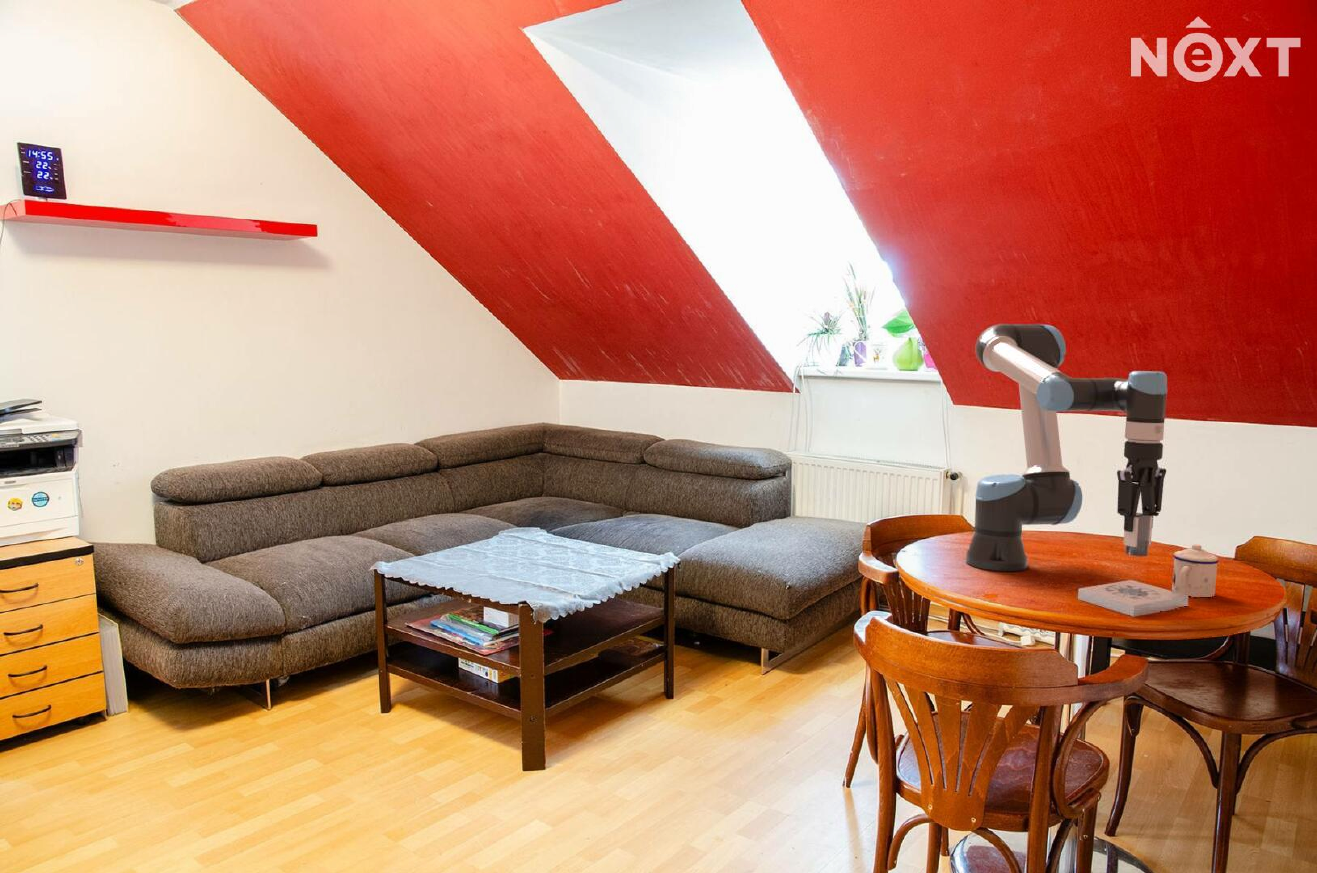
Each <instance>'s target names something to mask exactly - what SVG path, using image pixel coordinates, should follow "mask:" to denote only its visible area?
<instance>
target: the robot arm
mask: <svg viewBox="0 0 1317 873" xmlns="http://www.w3.org/2000/svg"><path fill="white" fill-rule="evenodd" d="M974 349H975V352H974V353H975V356H976V359H977V360H978V361H979V363H980V364H981V365H982V366H983V367H985V368H987V369H989V371H991V372H997V373H998V372H1000V373H1001V374H1003V375H1005V376H1006V377H1008V378H1010V379H1011V380H1012V381H1014V382H1016V383H1018V388H1019V389H1018V391H1019V399H1020V400H1019V402H1020V409H1021V410H1020V411H1021V420H1022V430H1023V438H1024V448H1025V459H1026V469H1025V470H1024V471H1023V473H1022V475H1021V474H1010V473H1009V474H1004V473H1003V474H994V475H988V476H985V477H982V478H981V479H980V480H979V481H978V482H977V484H976V492H975V508H974V509H975V510H974V511H975V512H974V513H975V515H974V529H973V530H974V533H973V536H972V539H971V541H970V544H969V547H968V549H967V551H966V552H965V557H966V558H965V563H966V564H968V565H969V564H970V565H969V566H972V567H975V568H977V569H983V570H989V571H996V572H997V571H998V572H1017V571H1018V572H1019V571H1023V570H1026V569H1027V568H1028V556H1027V555H1026V553H1025V552H1026V551H1025V546H1024V542H1023V536H1022V534H1023V532H1022V531H1023V526H1025V525H1026V526H1030V525H1031V526H1032V525H1033V526H1034V525H1039V526H1041V525H1051V526H1055V525H1062V524H1069V523H1070V522H1073V521H1074V520H1075V519H1076V518H1077V516H1078V515H1079V513H1080V512H1081V508H1082V504H1083V490H1082V487H1081V486H1080V485H1079V482H1077V481H1076V480H1074V479H1072V478H1071V476H1070V474H1071V473H1070V471H1069V470H1068V469H1067V468H1066V467H1064V466H1063V460H1062V452H1061V450H1062V448H1061V441H1060V431H1059V422H1058V412H1060V413H1061V412H1123V413H1124V412H1125V413H1126V418H1125V427H1124V428H1125V429H1124V438H1125V439H1126V441H1125V442H1124V449H1123V457H1125V459H1127V464H1126V467H1125V468H1124V469H1123V470H1121V469H1118V470H1117V472H1116V475H1117V480H1118V482H1117V484H1118V485H1117V486H1118V487H1117V508H1116V509H1117V514H1119V515H1120V516H1122V517H1123V518H1124V521H1123V531H1124V532H1123V545H1124V546H1126V545H1128V546H1132V547H1137V534H1138V519H1139V518H1136V513H1138V508H1139V502H1140V500H1141V513H1144V514H1149V515H1150V526H1149V541H1148V546H1151V545H1152V535H1153V534H1152V532H1153V524H1154V517H1158V516H1159V514H1160V513H1161V511H1162V502H1163V494H1164V482H1165V477H1166V474H1167V469H1166V468H1161V467H1159V464H1158V461H1160V460H1162V458H1163V451H1164V444H1163V442H1161V441H1163V440H1164V434H1165V433H1164V432H1165V419H1166V408H1167V407H1166V405H1167V397H1168V396H1167V395H1168V376H1167V374H1166V373H1165V372H1164V371H1153V370H1152V371H1149V370H1146V371H1145V370H1142V371H1141V370H1133V371H1131V372H1129V374H1128V378H1118V377H1101V378H1100V377H1099V378H1091V377H1090V378H1089V377H1088V378H1087V377H1085V378H1083V377H1081V378H1080V377H1077V378H1076V377H1075V378H1074V377H1070V376H1069V375H1067V374H1065V373H1064V372H1062V371H1060V370H1059V366H1061V365H1062V364H1063V362H1064V360H1065V355H1066V352H1067V350H1066V341H1065V339H1064V337H1063V334H1062V333H1061V331H1060V330H1059V329H1058V328H1056V326H1052V325H1049V324H1042V323H1041V324H1040V323H1035V324H1032V323H1031V324H1029V323H1028V324H1026V323H1025V324H1017V323H1015V324H1014V323H1013V324H1011V323H1009V324H1008V323H999V324H994V325H992V326H990V327H988V328H986V329H984V331H982V332H981V333H980V335H979V337H978V338H977V339H976V343H975V348H974Z"/></svg>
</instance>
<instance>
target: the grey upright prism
mask: <svg viewBox="0 0 1317 873" xmlns="http://www.w3.org/2000/svg"><path fill="white" fill-rule="evenodd" d="M1136 518H1139V519H1138V534H1137V547H1132V546H1128V545H1125V554H1127V555H1129V556H1133V557H1148V555H1149V545H1148V541H1149V526H1150V515H1149V514H1144V513H1142V512H1137V513H1136Z"/></svg>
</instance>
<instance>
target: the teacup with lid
mask: <svg viewBox="0 0 1317 873" xmlns="http://www.w3.org/2000/svg"><path fill="white" fill-rule="evenodd" d="M1173 558H1174V560H1173V561H1174V562H1173V573H1172V584H1171V585H1172V586H1171V591H1173V592H1177V593H1181V594H1184V595H1188V596H1191V597H1190V598H1194V597H1211V598H1213V597H1214V596H1215V594H1216V583H1217V582H1216V581H1217V569H1218V568H1217V567H1218V563H1219V558H1218V556H1216V555H1215V554H1212V553H1209V551H1207V550H1205V549H1202V545H1201V544H1197V543H1193V544H1192V545H1191V547H1190V548H1189V547H1188V548H1185V549H1183V550H1177V551H1175V552H1174V553H1173ZM1212 596H1213V597H1212Z"/></svg>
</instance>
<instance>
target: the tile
mask: <svg viewBox="0 0 1317 873" xmlns="http://www.w3.org/2000/svg"><path fill="white" fill-rule="evenodd" d="M1077 599H1078V600H1079V601H1082V602H1086V603H1089V604H1092V605H1096V606H1099V607H1102V608H1104V609H1107V610H1110V611H1115V612H1116V613H1121V614H1124V615H1126V616H1129V615H1130V617H1141V616H1144V615H1151V614H1156V613H1161V612H1160V611H1162V612H1167V611H1171V610H1176V609H1175V608H1177V609H1179V608H1178V607H1182V606H1188V604H1189V597H1188V595H1184V594H1181V593H1177V592H1174V591H1173V590H1169V589H1165V588H1162V587H1158V586H1154V585H1152V584H1147V583H1143V582H1139V581H1137V580H1133V579H1130V580H1123V581H1116V582H1110V583H1105V584H1098V585H1094V586H1093V585H1092V586H1087V587H1081V588H1078V593H1077ZM1188 607H1189V606H1188Z"/></svg>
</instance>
